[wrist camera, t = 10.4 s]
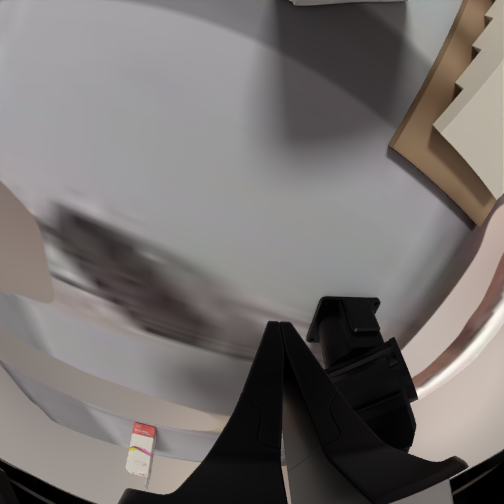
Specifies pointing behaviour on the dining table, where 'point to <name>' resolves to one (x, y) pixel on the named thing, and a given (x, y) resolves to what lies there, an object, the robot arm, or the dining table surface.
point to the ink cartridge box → (141, 451)
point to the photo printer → (333, 1)
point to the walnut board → (431, 108)
